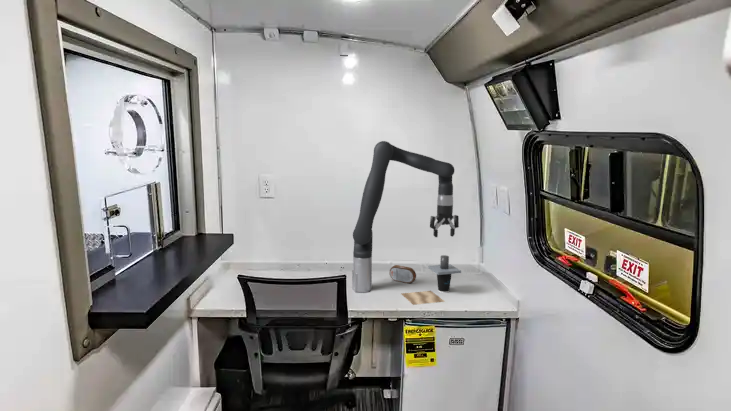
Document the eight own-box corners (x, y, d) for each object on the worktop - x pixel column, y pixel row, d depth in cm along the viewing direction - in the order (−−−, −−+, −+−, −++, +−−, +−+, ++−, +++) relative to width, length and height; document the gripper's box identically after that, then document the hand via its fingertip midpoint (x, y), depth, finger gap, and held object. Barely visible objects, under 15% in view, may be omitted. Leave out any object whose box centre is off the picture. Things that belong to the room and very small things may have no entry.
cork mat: (412, 305, 212) (413, 304, 212) (400, 294, 227) (400, 293, 227) (445, 302, 217) (445, 301, 217) (430, 291, 232) (430, 290, 232)
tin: (416, 283, 245) (416, 268, 244) (413, 285, 242) (414, 269, 241) (391, 278, 253) (391, 263, 252) (388, 280, 250) (388, 265, 249)
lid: (438, 274, 223) (438, 260, 222) (428, 268, 234) (428, 254, 233) (461, 272, 226) (461, 258, 225) (449, 266, 237) (450, 252, 236)
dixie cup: (449, 295, 226) (450, 273, 225) (433, 293, 230) (434, 271, 228) (453, 290, 234) (454, 269, 232) (437, 288, 237) (438, 267, 235)
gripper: (454, 202, 231) (453, 234, 233) (428, 203, 227) (427, 235, 230) (462, 204, 224) (460, 237, 226) (434, 205, 220) (433, 239, 222)
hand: (443, 236), depth 228 cm, fingers open, 8 cm apart
